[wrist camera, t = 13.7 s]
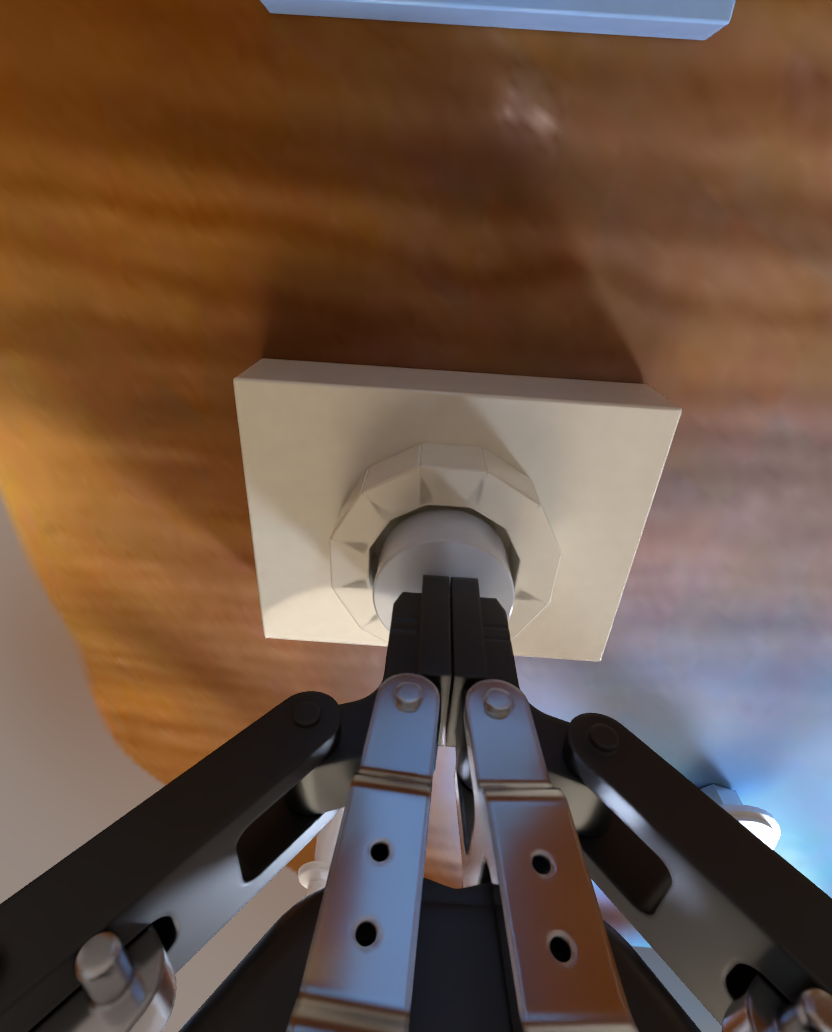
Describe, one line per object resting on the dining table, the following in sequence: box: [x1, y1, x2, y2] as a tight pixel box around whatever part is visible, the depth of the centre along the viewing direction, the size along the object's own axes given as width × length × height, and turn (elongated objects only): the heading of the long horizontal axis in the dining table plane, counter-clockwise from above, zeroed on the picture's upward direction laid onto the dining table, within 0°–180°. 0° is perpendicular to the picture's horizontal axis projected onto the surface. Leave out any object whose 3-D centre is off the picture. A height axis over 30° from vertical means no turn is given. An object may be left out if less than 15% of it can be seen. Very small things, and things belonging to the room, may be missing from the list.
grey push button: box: [373, 509, 515, 632], centre depth 15 cm, size 4×4×2 cm
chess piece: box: [298, 807, 345, 898], centre depth 23 cm, size 5×5×10 cm
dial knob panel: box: [233, 358, 682, 662], centre depth 17 cm, size 13×10×4 cm
